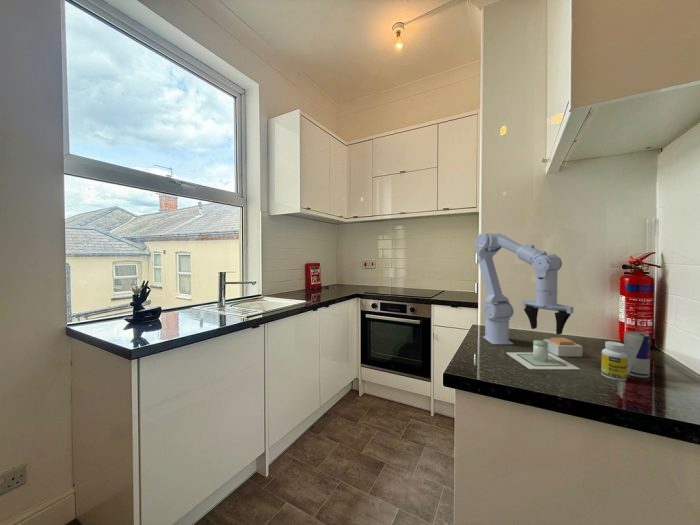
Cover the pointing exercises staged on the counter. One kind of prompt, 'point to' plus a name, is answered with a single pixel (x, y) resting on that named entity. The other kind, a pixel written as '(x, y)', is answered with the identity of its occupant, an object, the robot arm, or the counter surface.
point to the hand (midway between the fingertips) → (546, 331)
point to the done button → (562, 341)
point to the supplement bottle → (614, 361)
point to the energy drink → (637, 353)
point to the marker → (540, 350)
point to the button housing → (564, 349)
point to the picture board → (552, 363)
